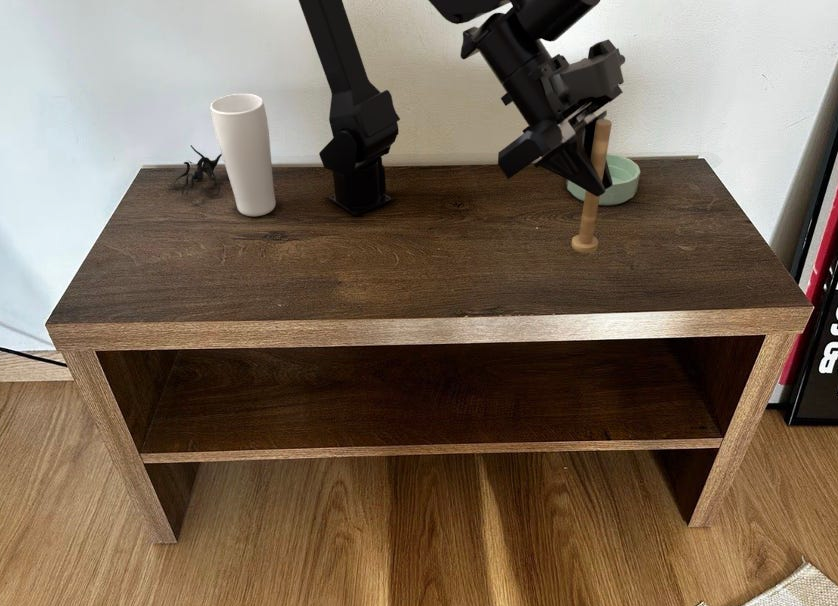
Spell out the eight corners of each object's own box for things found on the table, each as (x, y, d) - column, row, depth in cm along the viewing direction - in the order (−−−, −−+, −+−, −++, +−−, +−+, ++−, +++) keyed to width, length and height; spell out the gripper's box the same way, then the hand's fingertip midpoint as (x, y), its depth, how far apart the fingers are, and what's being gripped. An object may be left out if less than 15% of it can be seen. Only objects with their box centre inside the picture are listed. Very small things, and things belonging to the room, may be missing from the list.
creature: (211, 209, 100) (240, 174, 104) (198, 179, 96) (228, 144, 100) (166, 199, 102) (196, 166, 107) (151, 170, 98) (183, 136, 102)
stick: (586, 256, 80) (606, 130, 70) (565, 245, 82) (583, 121, 72) (602, 247, 82) (625, 122, 72) (582, 236, 83) (601, 113, 73)
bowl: (606, 214, 96) (610, 191, 94) (552, 188, 102) (555, 166, 99) (649, 191, 101) (654, 169, 99) (595, 168, 107) (598, 146, 104)
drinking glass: (271, 223, 95) (251, 115, 85) (224, 218, 96) (199, 111, 86) (288, 199, 100) (272, 94, 90) (244, 194, 101) (223, 91, 91)
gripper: (534, 45, 62) (631, 192, 64) (619, -4, 73) (698, 122, 76) (458, 113, 70) (545, 240, 73) (544, 60, 82) (617, 171, 84)
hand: (605, 190), depth 76 cm, fingers closed on stick
